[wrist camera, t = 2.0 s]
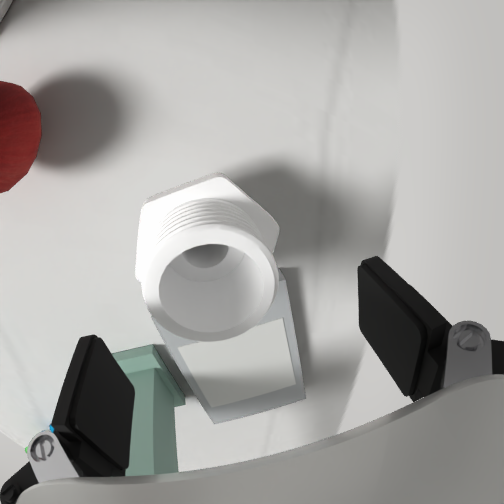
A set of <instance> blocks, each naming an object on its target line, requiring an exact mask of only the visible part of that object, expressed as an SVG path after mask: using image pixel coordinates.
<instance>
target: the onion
mask: <svg viewBox="0 0 504 504" xmlns="http://www.w3.org/2000/svg"><path fill="white" fill-rule="evenodd" d="M41 136H42V134H41V113H40V111H39V109H38V107H37V105H36V102H35V100H34V98H33V96H32V95H30V94H29V93H28V92H27V91H26V90H25V89H24V88H23V87H21V86H19V85H16V84H13V83H8V82H3V81H0V193H3V192H6V191H9V190H10V189H11V188H12V187H13V186H14V185H15V184H16V183H17V182H18V181H19V180H21V179H22V178H23V177H24V176H25V175H26V174H27V173H28V171H29V169H30V167H31V165H32V164H33V162H34V160H35V158H36V156H37V152H38V148H39V143H40V140H41Z"/></svg>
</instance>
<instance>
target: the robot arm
mask: <svg viewBox="0 0 504 504" xmlns="http://www.w3.org/2000/svg"><path fill="white" fill-rule="evenodd" d="M12 1H13V0H0V22H1V20H2V18H3V17H4V15H5V13H6V12H7V10H8V8H9V7H10V5H11V3H12ZM358 298H359V327H360V330H361V332H362V334H363V335H364V337H365V338H366V340H367V341H368V343H369V344H370V345H371V347H372V348H373V350H374V351H375V353H376V354H377V356H378V357H379V359H380V360H381V361H382V363H383V365H384V366H385V368H386V369H387V370H388V372H389V374H390V375H391V377H392V378H393V380H394V381H395V382H396V384H397V386H398V387H399V389H400V390H401V392H402V393H403V395H404V396H406V397H407V396H410V398H411V399H412V401H413V402H414V403H412V404H409V405H407V406H405V407H403V408H401V409H399V410H397V411H394V412H392V413H390V414H388V415H385V416H383V417H381V418H378V419H376V420H373V421H371V422H369V423H366V424H364V425H362V426H359V427H356V428H354V429H351V430H349V431H346V432H343V433H341V434H338V435H335V436H332V437H329V438H327V439H324V440H321V441H318V442H315V443H311V444H308V445H305V446H302V447H298V448H295V449H292V450H288V451H285V452H281V453H277V454H273V455H270V456H266V457H261V458H257V459H253V460H248V461H244V462H239V463H234V464H229V465H224V466H218V467H212V468H206V469H200V470H193V471H185V472H177V473H168V474H157V475H143V476H125V473H126V469H127V468H128V467H129V458H130V443H131V431H132V419H133V409H134V400H135V389H134V386H133V384H132V383H131V382H130V380H129V379H128V377H127V376H126V374H125V373H124V372H123V370H122V369H121V367H120V366H119V364H118V363H117V361H116V360H115V358H114V357H113V355H112V354H111V352H110V351H109V349H108V348H107V346H106V345H105V343H104V341H103V340H102V339H101V338H98V337H97V336H96V335H89V336H85V337H81V338H80V339H79V341H78V344H77V346H76V349H75V352H74V354H73V357H72V360H71V363H70V366H69V369H68V371H67V374H66V377H65V380H64V383H63V386H62V390H61V393H60V396H59V399H58V402H57V406H56V409H55V413H54V416H53V420H52V423H51V426H52V427H53V428H54V431H53V433H52V432H50V431H43V432H40V433H38V434H36V435H35V436H34V437H33V438H32V440H31V441H30V443H29V445H28V449H27V455H28V459H29V462H28V463H27V464H26V465H25V466H24V467H22V468H21V469H20V470H19V471H18V472H17V473H15V474H14V475H13V476H12V477H11V478H10V479H9V480H8V481H6V482H5V483H4V485H3V486H2V489H1V492H0V501H1V504H504V341H498V340H491V338H490V334H489V332H488V331H487V329H486V328H485V327H484V326H483V325H481V324H479V323H477V322H473V321H462V322H459V323H457V324H455V325H453V326H452V325H451V324H450V323H449V322H448V321H447V320H446V319H445V318H444V317H443V316H442V315H441V314H440V313H439V312H438V311H437V310H436V309H435V308H434V307H433V306H432V305H431V304H430V303H429V302H428V301H427V300H426V299H425V298H424V297H423V296H422V295H420V294H419V293H418V292H417V291H416V290H415V289H414V288H413V287H412V286H411V285H409V284H408V283H407V282H406V281H405V280H404V279H402V278H401V277H400V276H399V275H398V274H397V273H396V272H395V271H394V270H393V269H392V268H391V267H389V266H388V265H387V264H386V263H385V262H384V261H383V260H382V259H381V258H379V257H378V256H375V257H372V258H369V259H366V260H363V261H362V262H361V265H360V266H358ZM423 397H424V398H423ZM421 398H422V399H421ZM419 399H420V400H419ZM417 400H418V401H417ZM415 401H416V402H415ZM111 476H112V477H111Z"/></svg>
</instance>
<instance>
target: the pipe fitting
mask: <svg viewBox="0 0 504 504" xmlns="http://www.w3.org/2000/svg"><path fill="white" fill-rule="evenodd" d="M279 232H280V228H279V225H278V224H277V222H276V221H275V220H274V218H273V217H272V216H271V215H270V214H269V213H268V212H267V211H266V210H264V209H263V208H262V207H261V206H260V205H259V204H258V203H256V202H255V201H254V200H253V199H252V198H251V197H250V196H248V195H247V194H246V193H245V192H244V191H243V190H242V189H240V188H239V187H238V186H237V185H236V184H235V183H233V182H232V181H231V180H230V179H229V178H228V177H226V176H225V175H224V174H222V173H213V174H210V175H207V176H204V177H201V178H199V179H196V180H193V181H190V182H187V183H185V184H182V185H179V186H177V187H174V188H171V189H169V190H166V191H164V192H161V193H158V194H156V195H153V196H151V197H149V198H147V199H146V200H145V202H144V204H143V206H142V209H141V213H140V222H139V232H138V242H137V254H136V267H135V277H136V278H137V280H138V281H139V282H141V283H142V293H143V298H144V301H145V304H146V306H147V308H148V310H149V312H150V313H151V315H152V316H153V318H154V319H155V320H156V321H157V322H158V323H159V324H160V325H161V326H162V327H164V328H165V329H166V330H168V331H169V332H171V333H173V334H175V335H177V336H179V337H182V338H185V339H189V340H193V341H200V342H215V341H222V340H227V339H230V338H233V337H236V336H238V335H241V334H243V333H245V332H246V331H248V330H250V329H251V328H253V327H254V326H255V325H256V324H257V323H258V322H259V321H260V320H261V319H262V318H263V316H264V315H265V314H266V313H267V311H268V310H269V309H270V307H271V305H272V304H273V302H274V300H275V297H276V294H277V291H278V285H279V273H278V268H277V264H276V261H275V259H274V257H273V253H274V249H275V246H276V242H277V239H278V236H279Z"/></svg>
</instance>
